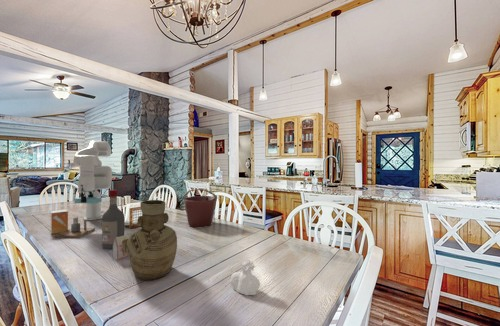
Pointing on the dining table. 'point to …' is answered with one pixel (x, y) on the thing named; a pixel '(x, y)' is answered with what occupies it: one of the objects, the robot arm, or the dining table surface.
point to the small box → (59, 221)
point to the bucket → (200, 209)
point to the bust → (245, 279)
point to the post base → (74, 235)
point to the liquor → (112, 222)
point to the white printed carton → (119, 247)
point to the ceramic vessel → (151, 242)
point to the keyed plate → (89, 200)
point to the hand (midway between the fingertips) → (87, 201)
